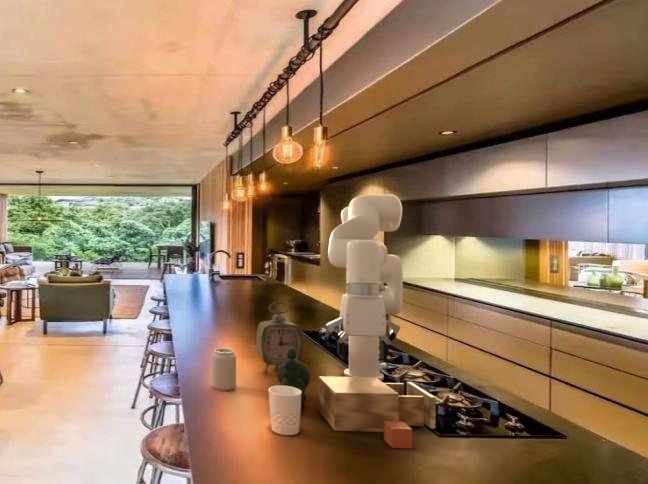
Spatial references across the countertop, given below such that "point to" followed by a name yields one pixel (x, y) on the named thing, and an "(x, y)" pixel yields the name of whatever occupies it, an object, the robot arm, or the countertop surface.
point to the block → (397, 434)
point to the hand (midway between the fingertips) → (362, 358)
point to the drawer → (416, 405)
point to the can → (224, 369)
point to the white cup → (285, 409)
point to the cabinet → (357, 403)
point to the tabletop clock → (278, 339)
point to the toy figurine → (294, 374)
